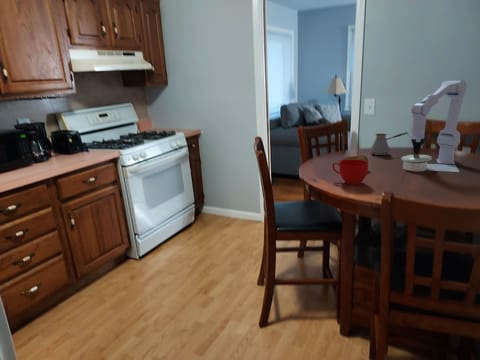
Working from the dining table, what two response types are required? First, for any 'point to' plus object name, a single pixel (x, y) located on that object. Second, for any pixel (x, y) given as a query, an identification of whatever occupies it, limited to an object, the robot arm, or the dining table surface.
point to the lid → (416, 158)
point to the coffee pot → (382, 144)
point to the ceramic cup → (352, 170)
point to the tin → (357, 157)
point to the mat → (442, 167)
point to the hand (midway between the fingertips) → (416, 153)
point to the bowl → (415, 166)
